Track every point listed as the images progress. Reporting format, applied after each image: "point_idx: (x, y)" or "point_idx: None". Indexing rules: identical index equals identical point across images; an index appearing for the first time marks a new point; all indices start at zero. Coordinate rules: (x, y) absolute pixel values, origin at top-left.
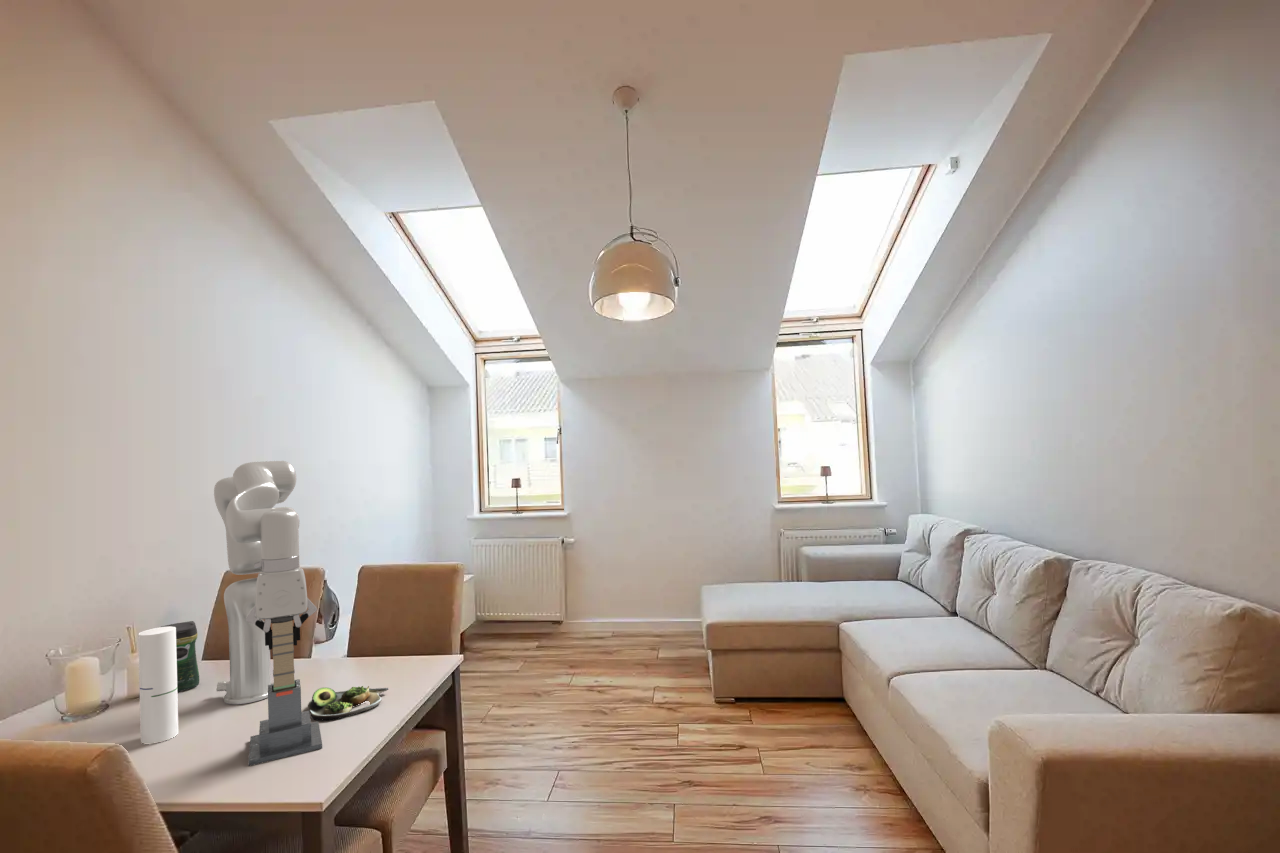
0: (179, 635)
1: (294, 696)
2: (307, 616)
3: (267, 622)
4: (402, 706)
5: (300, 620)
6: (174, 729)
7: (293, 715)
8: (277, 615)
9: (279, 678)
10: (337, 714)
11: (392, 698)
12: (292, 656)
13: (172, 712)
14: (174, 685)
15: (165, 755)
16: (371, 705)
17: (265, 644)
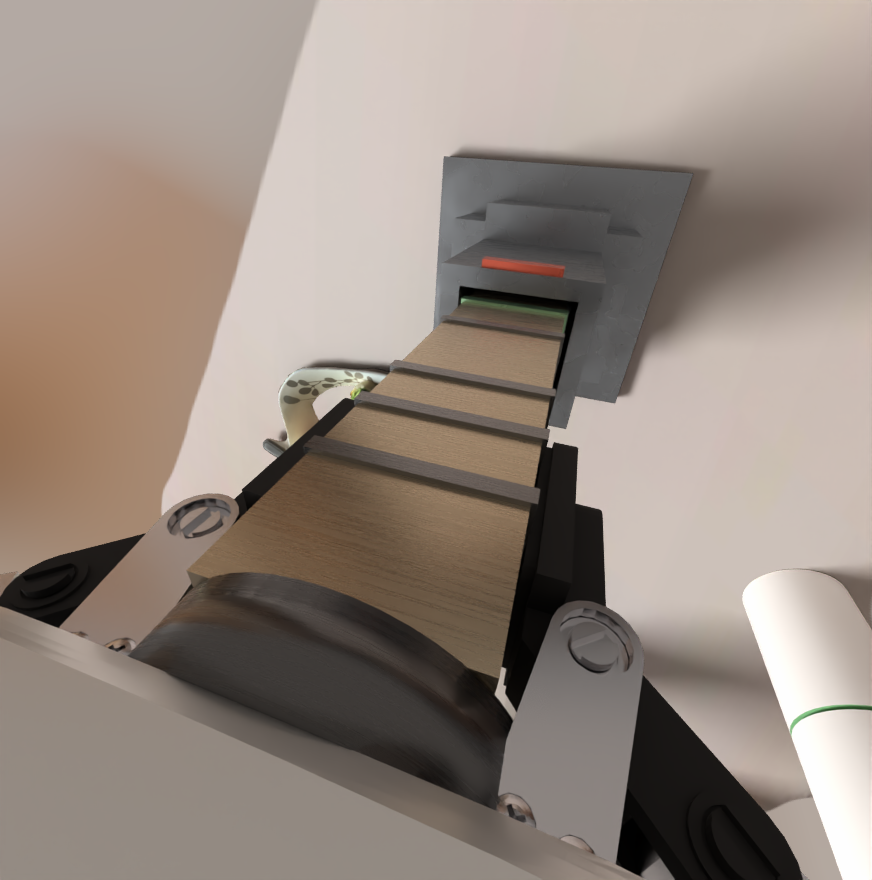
0: None
1: (481, 259)
2: (36, 570)
3: (572, 764)
4: (236, 329)
5: (138, 554)
6: (770, 592)
7: (504, 248)
8: (306, 826)
9: (529, 325)
10: (380, 374)
11: (261, 402)
12: (417, 355)
13: (798, 636)
14: (823, 728)
15: (846, 478)
16: (299, 370)
17: (598, 511)
